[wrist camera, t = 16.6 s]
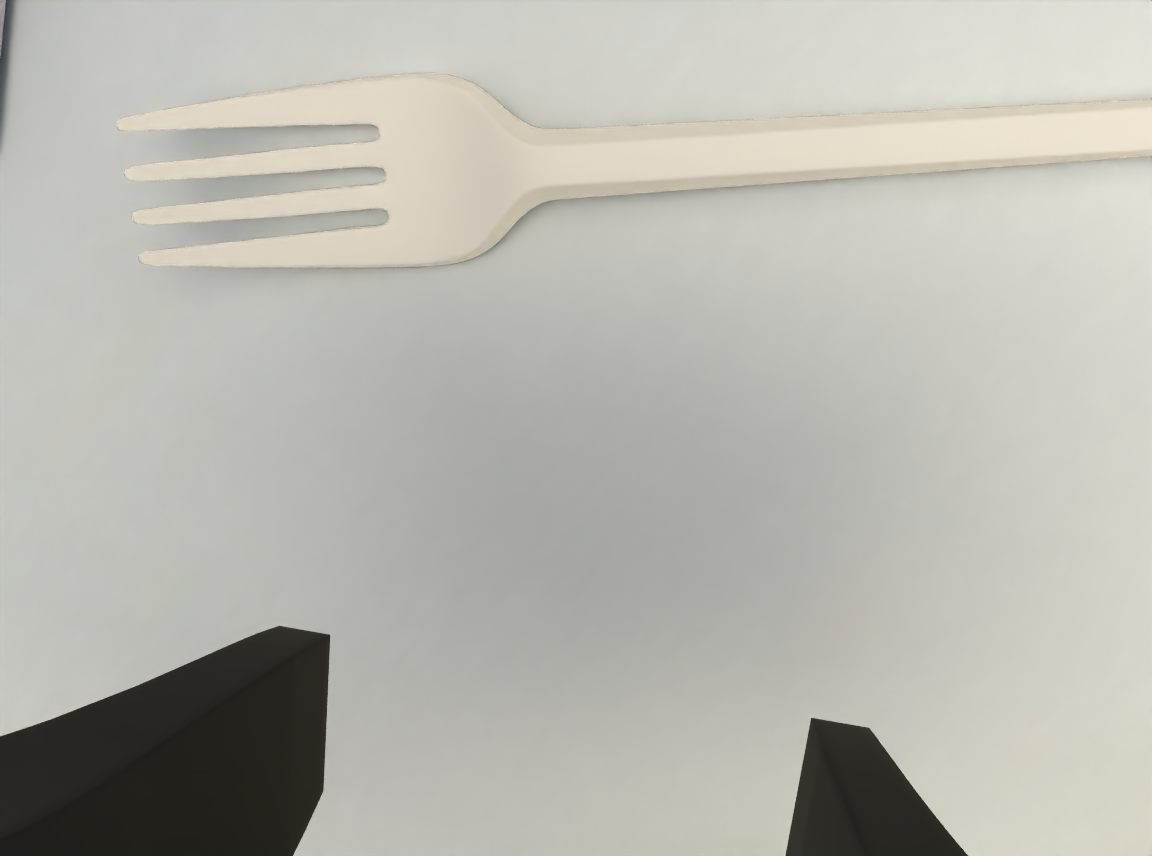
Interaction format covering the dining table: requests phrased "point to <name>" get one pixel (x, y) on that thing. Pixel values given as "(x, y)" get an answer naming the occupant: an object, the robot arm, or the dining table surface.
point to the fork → (564, 162)
